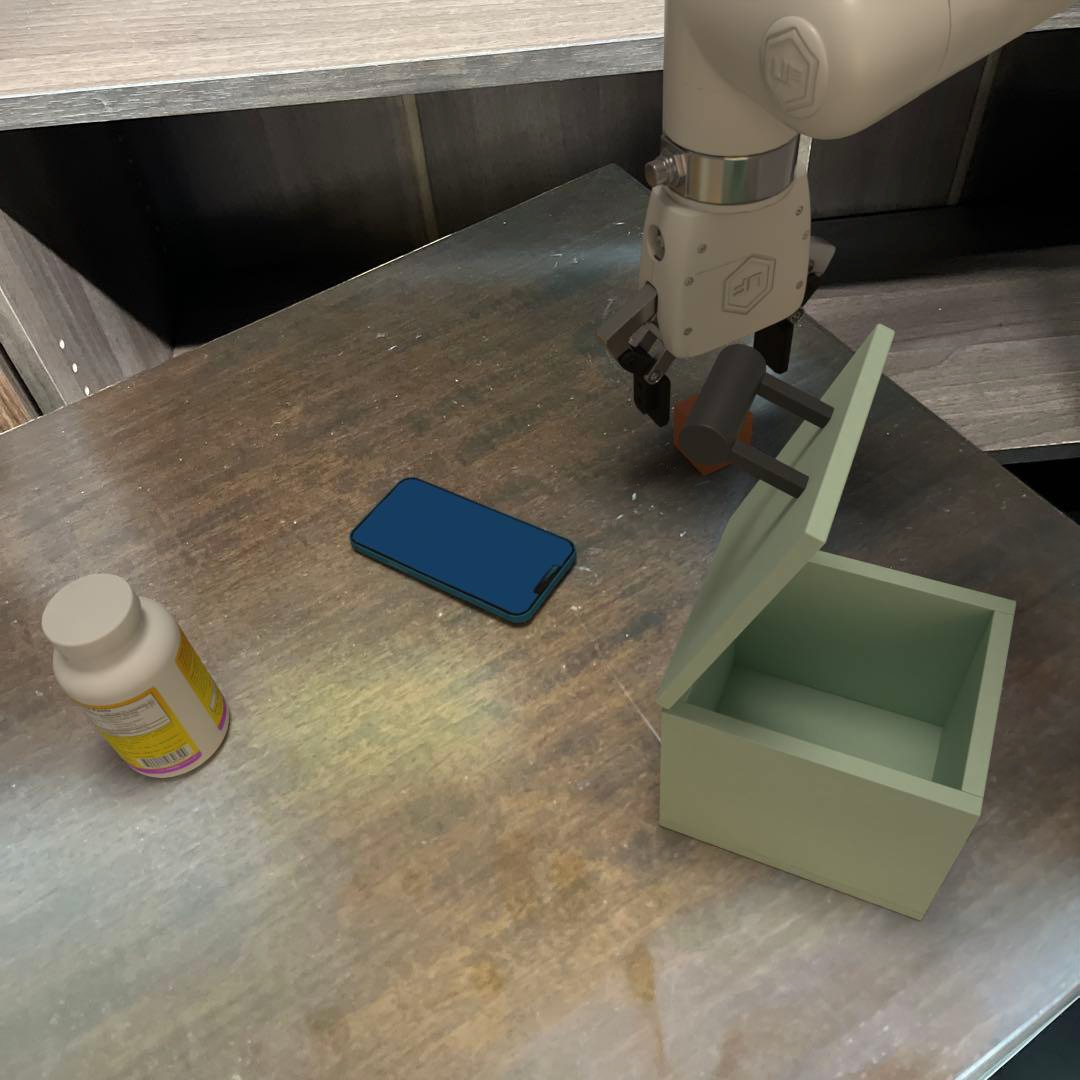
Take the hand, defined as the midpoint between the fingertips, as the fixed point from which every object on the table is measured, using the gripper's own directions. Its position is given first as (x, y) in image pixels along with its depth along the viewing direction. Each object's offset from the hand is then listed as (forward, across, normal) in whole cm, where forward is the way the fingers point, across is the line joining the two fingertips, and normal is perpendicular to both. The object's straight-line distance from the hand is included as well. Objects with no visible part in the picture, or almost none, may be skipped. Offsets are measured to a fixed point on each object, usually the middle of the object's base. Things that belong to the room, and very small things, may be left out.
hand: (712, 388), depth 68 cm
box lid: (-13, -12, -21) cm, 28 cm away
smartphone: (+6, -20, +1) cm, 21 cm away
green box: (+6, -10, -25) cm, 27 cm away
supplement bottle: (+6, -41, -3) cm, 41 cm away
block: (+6, 0, 0) cm, 6 cm away
